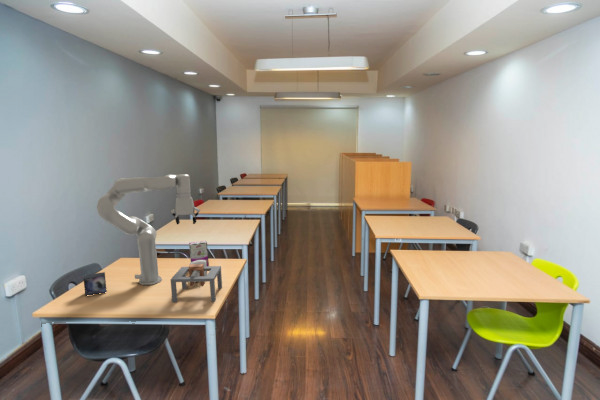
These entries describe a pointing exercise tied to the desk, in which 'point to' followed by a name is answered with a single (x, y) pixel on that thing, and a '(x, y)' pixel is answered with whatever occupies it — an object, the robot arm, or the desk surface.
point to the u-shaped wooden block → (196, 267)
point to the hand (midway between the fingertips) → (186, 223)
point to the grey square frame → (197, 280)
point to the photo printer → (200, 263)
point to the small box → (95, 283)
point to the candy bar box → (199, 251)
